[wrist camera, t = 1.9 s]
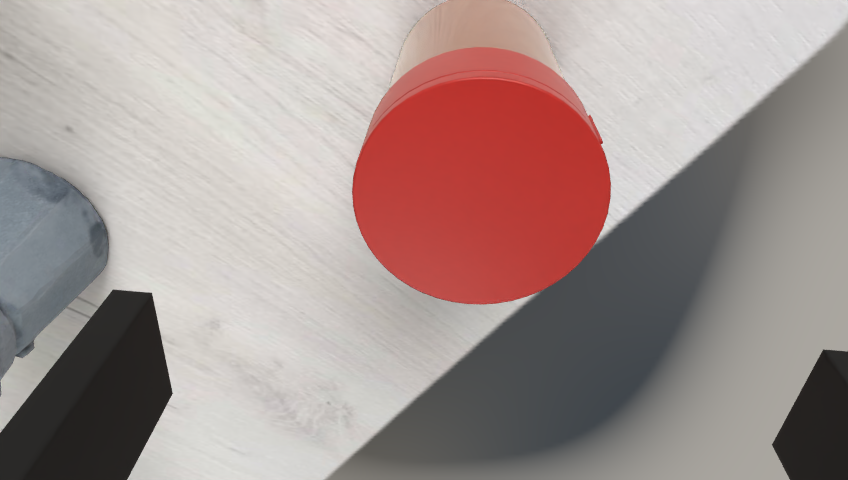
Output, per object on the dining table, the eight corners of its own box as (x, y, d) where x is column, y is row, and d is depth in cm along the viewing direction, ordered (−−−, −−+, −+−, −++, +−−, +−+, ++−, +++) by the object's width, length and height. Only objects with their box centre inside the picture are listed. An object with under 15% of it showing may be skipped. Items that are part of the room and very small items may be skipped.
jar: (518, -36, 26) (549, 33, 17) (575, 112, 30) (628, 242, 20) (369, 39, 28) (319, 139, 19) (438, 170, 32) (426, 313, 22)
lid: (548, 1, 18) (561, 26, 16) (625, 209, 22) (646, 256, 19) (323, 108, 21) (303, 145, 18) (426, 282, 24) (421, 333, 22)
